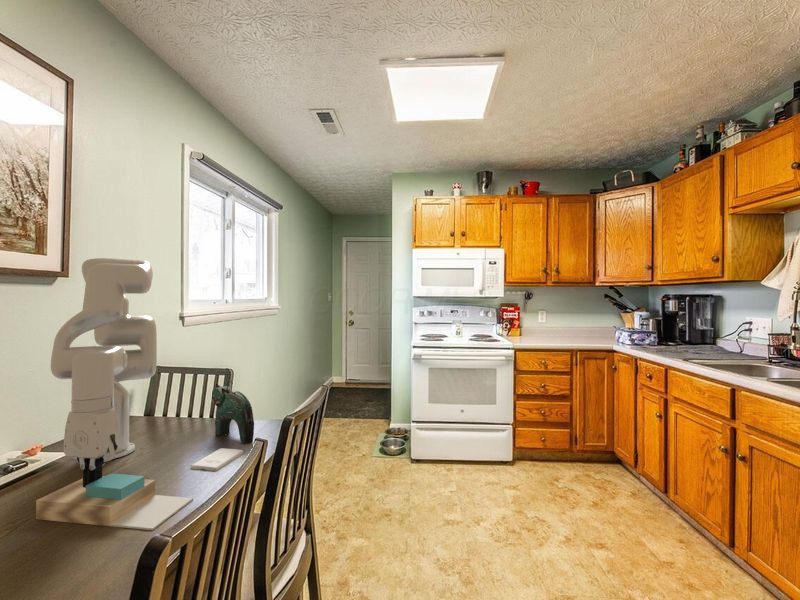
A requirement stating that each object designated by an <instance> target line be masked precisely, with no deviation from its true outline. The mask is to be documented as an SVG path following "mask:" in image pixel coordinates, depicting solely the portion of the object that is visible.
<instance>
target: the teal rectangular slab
mask: <svg viewBox="0 0 800 600" xmlns="http://www.w3.org/2000/svg"><path fill="white" fill-rule="evenodd" d="M104 476H105V477H102V478H100V479H98V480H96V481H94V482H92V483H90V484H88V485H86V497H95V498H105V499H115V500H122V499H124V498H126V497H127V496H129V495H131V494H133V493H134V492H136V491H138V490H140V489H141V488H143V487H144V479H145V475H134V474H124V473H123V474H122V473H114V472H113V473H108V474H106V475H104Z"/></svg>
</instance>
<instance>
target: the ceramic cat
mask: <svg viewBox="0 0 800 600" xmlns="http://www.w3.org/2000/svg"><path fill="white" fill-rule="evenodd" d="M229 382H230V384H231V385H233V384H234V383H233V381H232V379H227V381H226V383H227V384H226V385H224V386H220V384H219V383H216V384H215V388H213V390H212V391H211V392H212V393H211V403H212V404H213V405H214V406H215V407H216V410H215V419H214V429H215V430H214V435H215V434H216V435H215V436H217V435H219V436H218V437H223V436H222V435H224V436H226V435H225V434H227V435H229V434H230V427H231V426H230V425H231V422H232V421H234V422H235V423H236V425H237V428H238V434H239V440H240V444H241V445H244V446H246V445H249V444H252V443H253V441H254V434H255V433H254V432H255V419H254V413H253V412H254V411H253V407H252V405H251V402H250V401H249V399H248V398H247V396H246V395H245V394H243V393H242V392H241V391H237V390H236V391H233V390H232V388H231V387H230V386H229ZM228 433H229V434H228Z"/></svg>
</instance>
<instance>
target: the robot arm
mask: <svg viewBox="0 0 800 600" xmlns="http://www.w3.org/2000/svg"><path fill="white" fill-rule="evenodd" d="M153 273H154V271H153V267H152V265H151V264H150V262H149V261H147V260H139V259H124V258H106V257H105V258H100V257H99V258H89V259H86V260H84V261H83V263H82V264H81V274H82V277H83V280H84V282H85V287H84V294H83V295H84V296H83V303H82V310H81V311H79V312H78V313H76V314H75V315H73V316H72V317H71V318H70V319H68V320H67V321H66V322H65V323H64V324H63V325H62V326H61V327H60V329H58V331H57V333H56V335H55V338H54V340H53V347H52V352H51V357H50V371H51V374H52V375H53V376H54V378H57V379H60V380H71V401H70V403H71V411H69V412H68V414H67V418H66V423H65V427H64V428H65V429H64V437H63V453H64V455H65V456H66V457H69V458H70V459H73V460H76V461H77V462H78V463H79V468H80V469H81V470H82V478H83V487H84V488H86V485H88V484H90V483H92V482H94V481H96V480H98V479H100V478H102V476H103V466H104V465H105V464H106V462H110V461H112V460H114V459H117V458H121V457H125V456H127V455H129V454H131V453H133V452H134V451H135V450H136V444H135V443H133V442H130V394H129V391H128V390H127V389H126V387H125V386H124V385H122V384H121V382H125V381H137V380H145V379H146V380H147V379H150V378H152V377H154V375H156V372H157V364H158V363H157V362H158V361H157V359H158V358H157V357H158V356H157V355H158V354H157V352H158V351H157V348H158V347H157V346H158V345H157V344H158V343H157V342H158V341H157V337H158V335H157V324H156V321H155V320H154V318H153V317H151V316H149V315H130V314H129V305H130V304H129V303H130V302H129V299H128V297H127V296H126V295H125V294H129V295H130V294H133V295H134V294H136V295H137V294H146V293H148V292H149V291H150V289H151V286H152V282H153V276H154V275H153ZM89 331H94V332H93V336H94V341H95V343H96V344H97V345H98V346H96V345H92V346H89V345H88V346H73V347H71V345H72V343H73V342H74V341H75V340H76V339H77V338H78V337H79V336H81V335H83V334H85V333H88V332H89ZM125 346H126V347H127V346H137V347H139V348H140V349H124V348H123V347H125Z"/></svg>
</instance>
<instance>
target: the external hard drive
mask: <svg viewBox="0 0 800 600" xmlns="http://www.w3.org/2000/svg"><path fill="white" fill-rule="evenodd" d="M243 454H244V450H243V449H236V448H223V447H221V448H219V449H217V450H215V451H213V452H211V453H210V454H209V455H207V456H205V457H203V458H202V459H200V460H198V461H196V462H195V463H193V464H192V465H190V469H191V468H192V469H194V470H205V471H213V472H216V471H219V470H221V469H222V468H223V467H225V466H226V465H228V464H229V463H231V462H232V461H234V460H235V459H237V458H239V457H240V456H242V455H243Z"/></svg>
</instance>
